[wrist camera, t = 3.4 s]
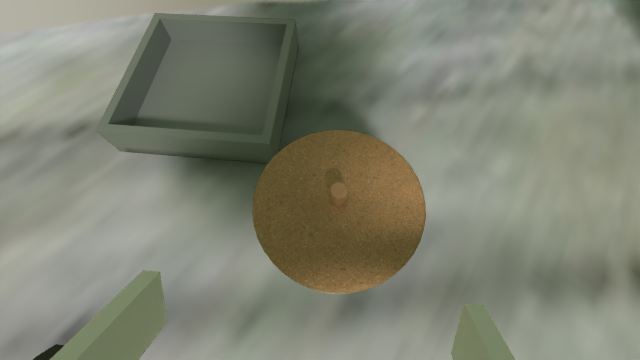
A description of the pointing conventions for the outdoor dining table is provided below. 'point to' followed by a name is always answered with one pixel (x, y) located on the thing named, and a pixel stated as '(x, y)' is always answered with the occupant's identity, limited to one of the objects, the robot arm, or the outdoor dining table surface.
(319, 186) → the lidded jar
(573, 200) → the outdoor dining table surface
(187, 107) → the bin
